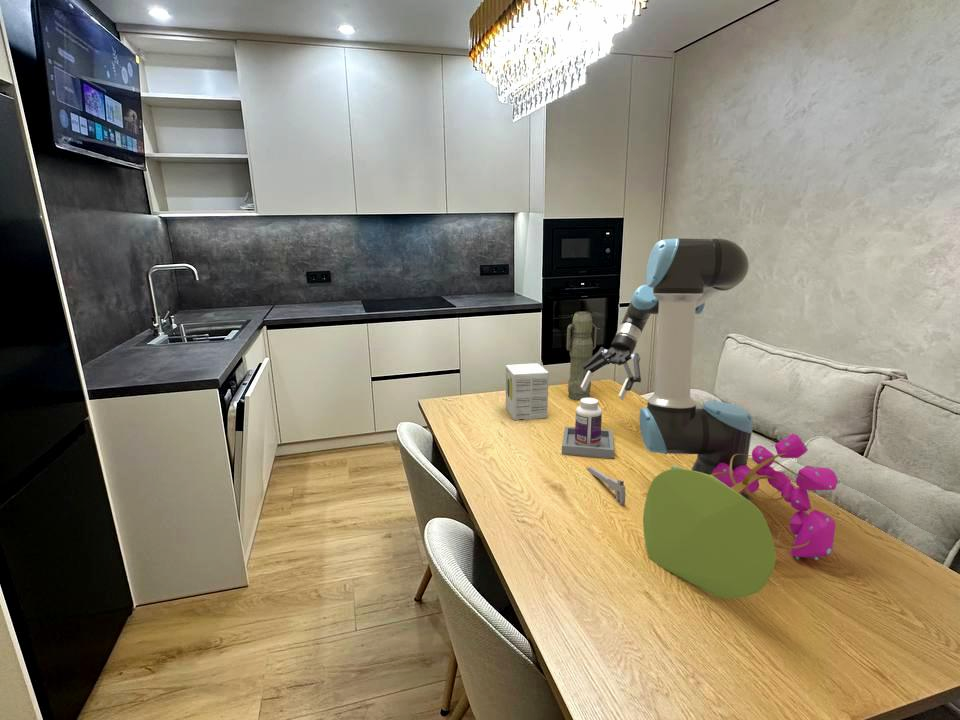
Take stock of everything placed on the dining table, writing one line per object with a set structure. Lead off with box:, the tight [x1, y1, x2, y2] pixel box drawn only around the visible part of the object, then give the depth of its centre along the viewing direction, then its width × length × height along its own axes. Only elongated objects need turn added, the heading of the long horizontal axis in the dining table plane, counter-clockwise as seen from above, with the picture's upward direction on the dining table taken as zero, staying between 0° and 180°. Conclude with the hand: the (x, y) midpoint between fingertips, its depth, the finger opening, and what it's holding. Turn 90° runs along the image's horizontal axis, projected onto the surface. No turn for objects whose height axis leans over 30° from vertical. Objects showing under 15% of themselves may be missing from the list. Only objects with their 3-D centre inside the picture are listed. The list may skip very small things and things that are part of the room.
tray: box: [561, 426, 615, 459], centre depth 158 cm, size 15×15×3 cm
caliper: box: [586, 466, 626, 506], centre depth 133 cm, size 20×1×6 cm, turn 13°
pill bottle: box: [574, 397, 603, 447], centre depth 157 cm, size 8×8×14 cm
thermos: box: [566, 310, 598, 402], centre depth 199 cm, size 9×12×35 cm
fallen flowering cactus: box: [642, 433, 840, 599], centre depth 105 cm, size 30×28×35 cm
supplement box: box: [505, 362, 550, 421], centre depth 185 cm, size 13×13×18 cm
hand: (601, 393), depth 160 cm, fingers open, 13 cm apart
